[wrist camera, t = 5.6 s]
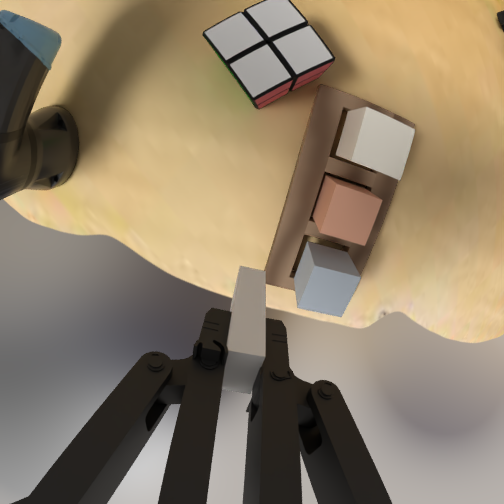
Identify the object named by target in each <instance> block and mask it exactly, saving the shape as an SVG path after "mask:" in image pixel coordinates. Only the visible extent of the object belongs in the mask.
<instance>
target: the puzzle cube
mask: <svg viewBox="0 0 504 504" xmlns="http://www.w3.org/2000/svg"><path fill="white" fill-rule="evenodd" d="M307 23H308V21H307V20H306V18H305V17H304V16H303V15H302V14H301V12H300V11H299V10H298V9H297V8H296V7H295V5H294V4H293V3H292V2H291V1H290V0H263V1H261V2H259V3H257V4H254V5H252V6H250V7H248V8H246V9H245V10H244V12H238V13H236V14H234V15H232V16H230V17H228V18H226V19H224V20H223V21H221V22H219V23H217V24H215V25H214V26H212V27H210V28H209V29H207V30H205V31H204V32H203V36H204V38H205V39H206V40H207V42H208V43H209V44H210V45H211V47H212V48H213V50H214V51H215V52H216V54H217V55H218V57H219V58H220V59H221V61H222V62H223V63H224V65H225V66H226V67H227V69H228V70H229V71H230V73H231V74H232V75H233V77H234V78H235V79H236V81H237V82H238V83H239V85H240V86H241V88H242V89H243V90H244V92H245V93H246V95H247V96H248V98H249V99H250V101H251V102H252V103H253V105H254V106H255V108H257V109H260V108H262V107H264V106H265V105H267V104H269V103H271V102H273V101H274V100H276V99H278V98H280V97H282V96H284V95H285V94H287V93H288V91H293V90H295V89H297V88H299V87H301V86H303V85H305V84H307V83H309V82H311V81H313V80H315V79H317V78H319V77H320V76H321V75H322V74H323V73H324V72H325V70H327V68H328V67H329V66H330V65H331V64H332V63H333V62H334V60H335V57H334V55H333V54H332V52H331V51H330V50H329V48H328V47H327V45H326V44H325V43H324V41H323V40H322V39H321V37H320V36H319V35H318V33H317V32H316V31H315V29H314V28H313V27H312V26H311V25H307Z"/></svg>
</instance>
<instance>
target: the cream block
mask: <svg viewBox="0 0 504 504" xmlns="http://www.w3.org/2000/svg"><path fill="white" fill-rule="evenodd" d="M414 133H415V129H413V128H411V127H409V126H407V125H405V124H403V123H401V122H399V121H397V120H395V119H393V118H391V117H389V116H387V115H384V114H382V113H380V112H378V111H375V110H373V109H371V108H368V107H363V108H359V109H355V110H351V111H348V113H347V117H346V121H345V124H344V128H343V131H342V135H341V138H340V142H339V145H338V148H337V152H336V155H337V156H339V157H342V158H345V159H347V160H350V161H352V162H355V163H358V164H360V165H363V166H366V167H368V168H371V169H373V170H376V171H378V172H381V173H383V174H386V175H388V176H390V177H393V178H395V179H397V180H401V177H402V174H403V171H404V167H405V164H406V161H407V158H408V154H409V151H410V148H411V144H412V141H413V137H414Z"/></svg>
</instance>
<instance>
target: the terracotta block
mask: <svg viewBox="0 0 504 504" xmlns="http://www.w3.org/2000/svg"><path fill="white" fill-rule="evenodd" d="M381 203H382V199H380V198H379V197H377V196H376V195H374V194H373V193H371V192H370V191H368V190H367V189H365V188H364V187H361V186H358V185H355V184H352V183H350V182H347V181H344V180H341V179H338V178H335V177H332V176H329V175H326V174H325V175H324V179H323V182H322V185H321V188H320V191H319V194H318V197H317V201H316V204H315V207H314V210H313V213H312V216H313V219H314V221H315V223H316V225H317V227H318V230H319V232H320V233H322V234H326V235H329V236H333V237H336V238H340V239H343V240H347V241H350V242H353V243H357V244H360V245H363V246H365V244H366V242H367V239H368V237H369V234H370V232H371V229H372V227H373V224H374V222H375V219H376V217H377V214H378V211H379V209H380V206H381Z"/></svg>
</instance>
